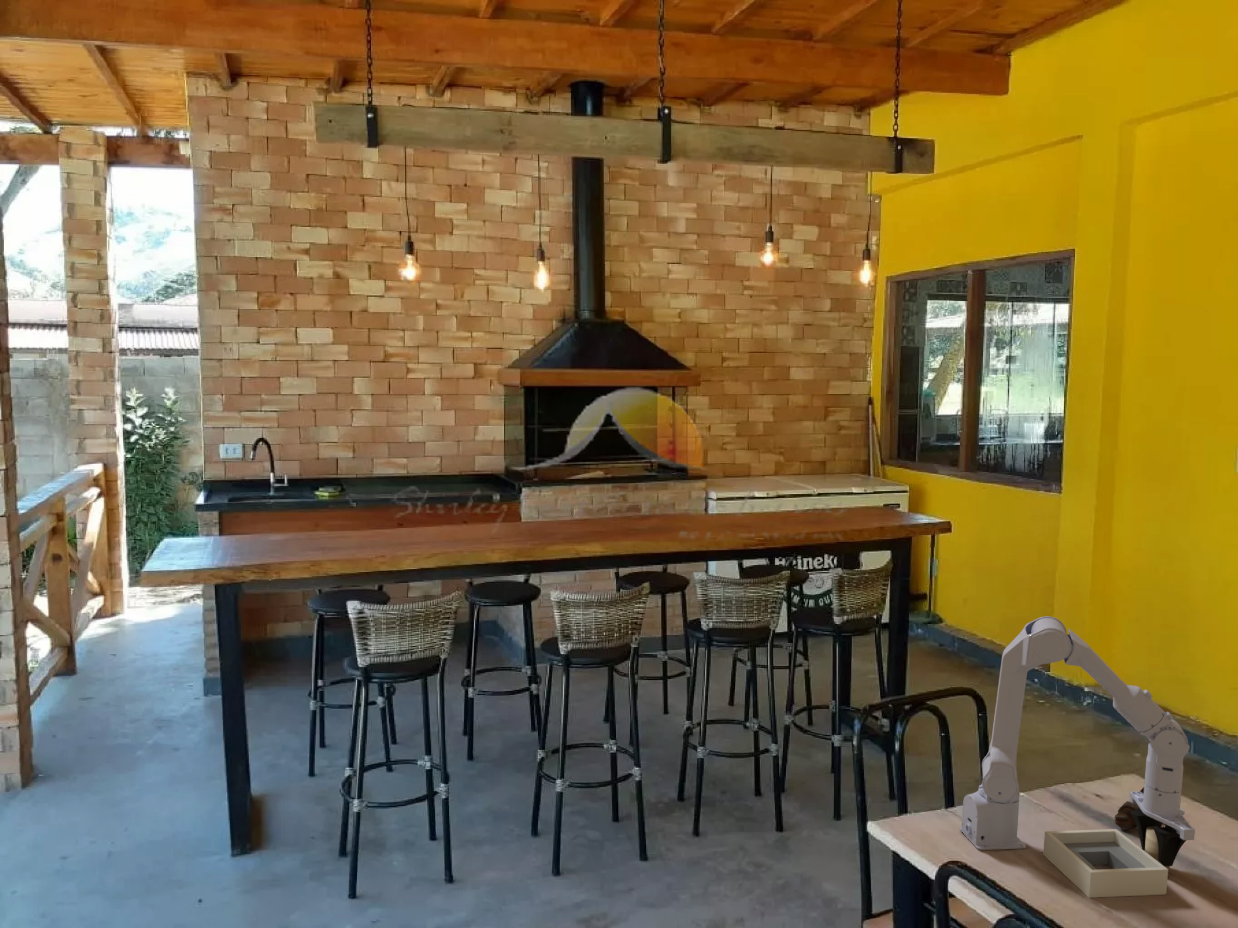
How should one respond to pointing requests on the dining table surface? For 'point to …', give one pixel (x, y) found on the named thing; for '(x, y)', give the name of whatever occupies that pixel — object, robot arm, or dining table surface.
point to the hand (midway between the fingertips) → (1157, 858)
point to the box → (1109, 847)
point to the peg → (1152, 844)
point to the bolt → (1126, 814)
